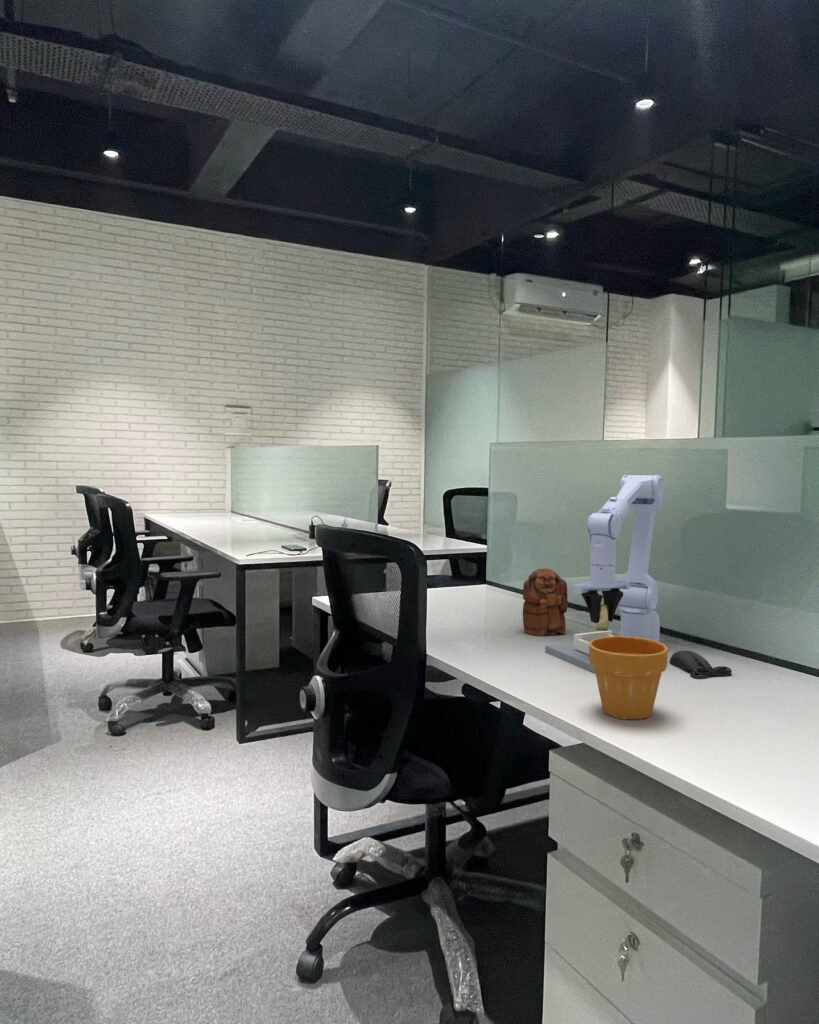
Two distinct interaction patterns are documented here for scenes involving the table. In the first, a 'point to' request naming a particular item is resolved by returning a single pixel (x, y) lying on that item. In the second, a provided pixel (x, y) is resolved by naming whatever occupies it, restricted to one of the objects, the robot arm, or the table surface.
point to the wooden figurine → (544, 603)
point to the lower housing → (588, 639)
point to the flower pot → (627, 674)
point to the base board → (570, 655)
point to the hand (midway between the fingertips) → (601, 621)
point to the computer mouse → (697, 665)
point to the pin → (603, 618)
